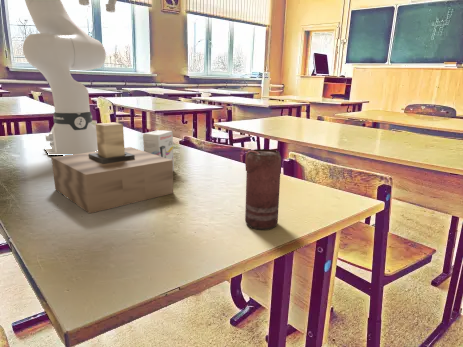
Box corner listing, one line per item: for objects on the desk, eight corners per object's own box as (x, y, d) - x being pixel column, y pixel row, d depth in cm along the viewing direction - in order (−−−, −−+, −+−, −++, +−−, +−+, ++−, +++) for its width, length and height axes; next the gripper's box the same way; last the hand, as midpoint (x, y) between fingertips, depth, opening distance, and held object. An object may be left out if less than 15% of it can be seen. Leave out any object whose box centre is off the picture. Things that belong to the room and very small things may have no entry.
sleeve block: (55, 190, 86) (51, 153, 83) (132, 175, 99) (130, 143, 97) (89, 213, 72) (85, 169, 69) (173, 193, 85) (172, 155, 83)
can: (242, 218, 71) (243, 148, 67) (273, 217, 71) (277, 148, 68) (245, 230, 65) (248, 154, 61) (280, 230, 65) (284, 154, 62)
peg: (98, 162, 84) (95, 123, 81) (116, 159, 86) (114, 122, 84) (107, 166, 80) (104, 125, 78) (125, 163, 83) (122, 124, 81)
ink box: (160, 178, 97) (158, 135, 94) (143, 176, 98) (141, 133, 95) (175, 170, 105) (173, 130, 102) (159, 169, 106) (157, 129, 103)
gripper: (111, -40, 97) (115, 16, 100) (48, -68, 78) (56, 1, 82) (130, -42, 94) (134, 14, 98) (71, -72, 76) (77, -1, 79)
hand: (98, 8), depth 90 cm, fingers open, 8 cm apart
